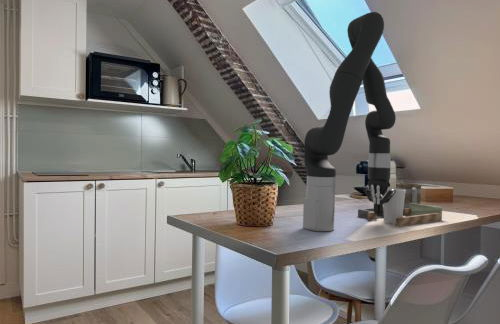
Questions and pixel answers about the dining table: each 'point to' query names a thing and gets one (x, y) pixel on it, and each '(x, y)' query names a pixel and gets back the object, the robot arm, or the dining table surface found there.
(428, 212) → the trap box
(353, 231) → the dining table surface
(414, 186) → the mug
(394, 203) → the cup
